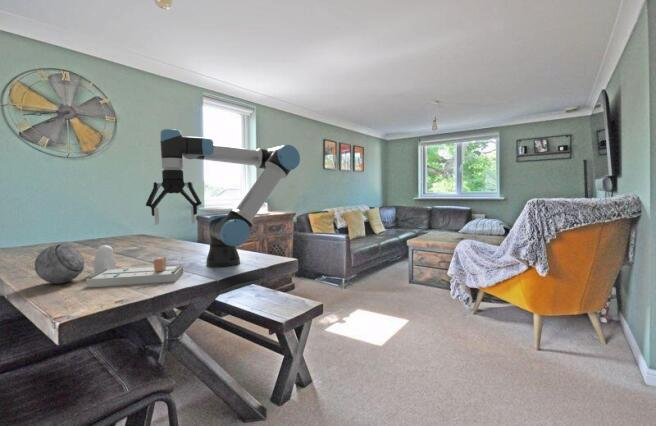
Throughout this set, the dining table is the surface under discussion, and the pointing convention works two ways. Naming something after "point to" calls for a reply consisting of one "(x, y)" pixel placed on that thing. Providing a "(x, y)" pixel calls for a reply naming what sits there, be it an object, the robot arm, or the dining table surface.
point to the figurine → (104, 259)
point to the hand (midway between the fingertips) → (175, 223)
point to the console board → (134, 276)
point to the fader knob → (159, 264)
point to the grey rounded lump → (59, 263)
